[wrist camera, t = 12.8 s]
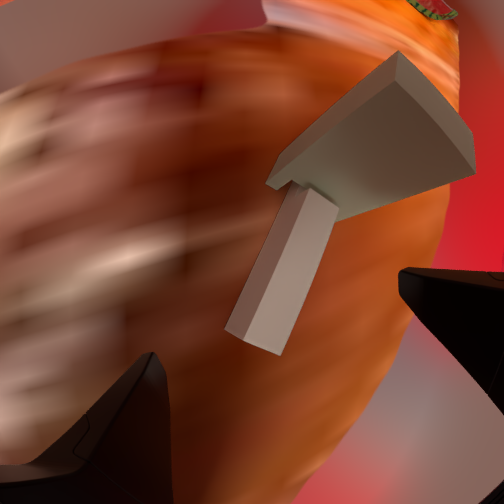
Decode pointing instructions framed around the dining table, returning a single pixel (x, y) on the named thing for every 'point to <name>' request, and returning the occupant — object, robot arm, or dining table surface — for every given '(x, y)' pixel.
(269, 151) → the dining table surface
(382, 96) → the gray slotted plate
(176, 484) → the dining table surface
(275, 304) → the white rectangular bar
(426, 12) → the fruit slice
